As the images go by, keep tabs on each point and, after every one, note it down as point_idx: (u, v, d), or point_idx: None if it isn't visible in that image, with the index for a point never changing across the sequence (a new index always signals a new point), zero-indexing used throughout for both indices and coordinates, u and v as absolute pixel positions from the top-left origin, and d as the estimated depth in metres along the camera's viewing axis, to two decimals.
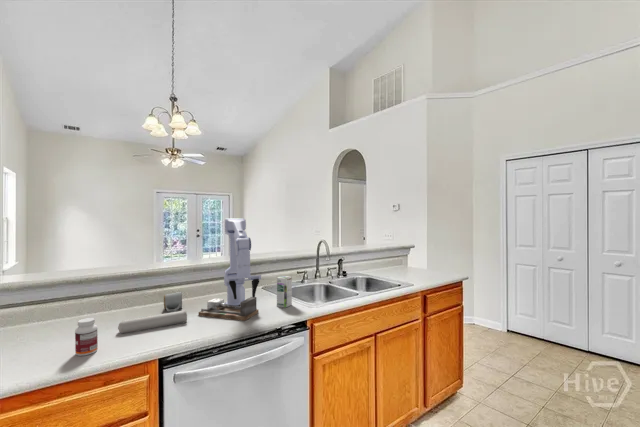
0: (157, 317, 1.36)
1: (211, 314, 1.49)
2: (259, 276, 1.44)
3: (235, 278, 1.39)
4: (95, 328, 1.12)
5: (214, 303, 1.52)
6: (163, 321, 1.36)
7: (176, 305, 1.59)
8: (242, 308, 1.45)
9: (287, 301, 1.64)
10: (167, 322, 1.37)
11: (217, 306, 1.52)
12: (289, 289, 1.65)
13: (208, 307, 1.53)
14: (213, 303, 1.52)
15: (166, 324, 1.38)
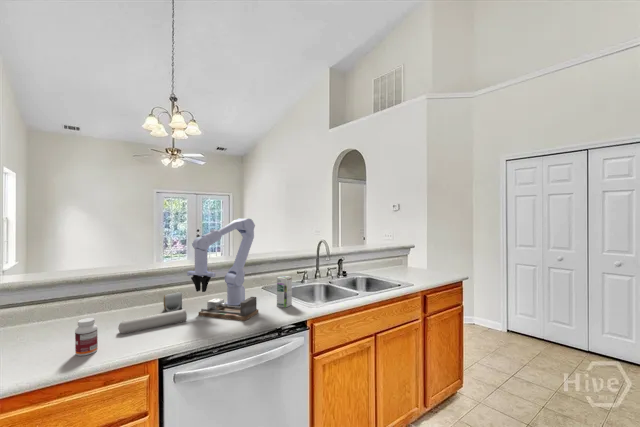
0: (157, 316, 1.37)
1: (211, 314, 1.49)
2: (211, 274, 1.54)
3: (191, 273, 1.57)
4: (95, 328, 1.12)
5: (214, 303, 1.52)
6: (163, 320, 1.37)
7: (176, 305, 1.59)
8: (242, 308, 1.45)
9: (287, 301, 1.64)
10: (167, 322, 1.38)
11: (217, 306, 1.52)
12: (289, 289, 1.65)
13: (208, 307, 1.53)
14: (213, 303, 1.52)
15: (166, 324, 1.39)
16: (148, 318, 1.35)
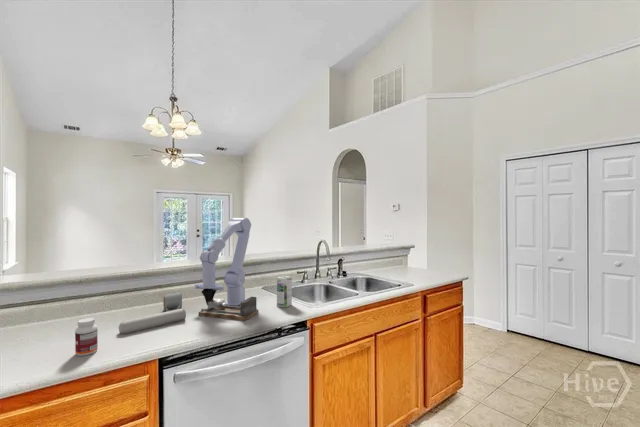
0: (157, 316, 1.37)
1: (211, 314, 1.49)
2: (219, 287, 1.53)
3: (199, 286, 1.56)
4: (95, 328, 1.12)
5: (214, 303, 1.52)
6: (163, 319, 1.38)
7: (176, 306, 1.58)
8: (242, 308, 1.45)
9: (287, 301, 1.64)
10: (167, 321, 1.39)
11: (217, 306, 1.52)
12: (289, 289, 1.65)
13: (208, 307, 1.53)
14: (213, 303, 1.52)
15: (166, 323, 1.40)
16: (148, 318, 1.35)
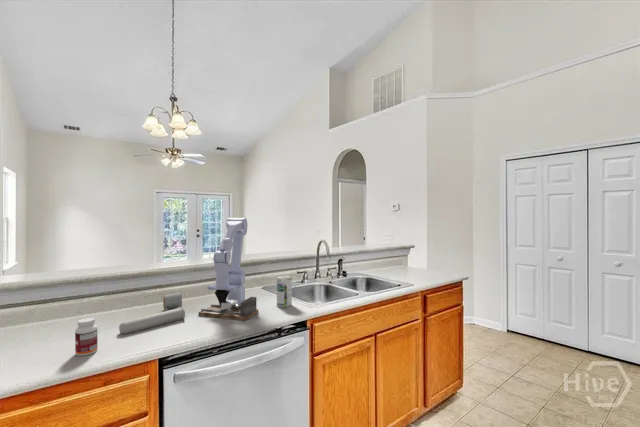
0: (157, 316, 1.38)
1: (211, 314, 1.49)
2: (233, 289, 1.51)
3: (212, 287, 1.53)
4: (95, 328, 1.12)
5: (228, 304, 1.50)
6: (163, 319, 1.39)
7: (176, 306, 1.58)
8: (242, 308, 1.45)
9: (287, 301, 1.64)
10: (167, 320, 1.40)
11: (231, 308, 1.50)
12: (289, 289, 1.65)
13: (222, 308, 1.51)
14: (227, 304, 1.50)
15: (166, 322, 1.40)
16: (148, 317, 1.35)
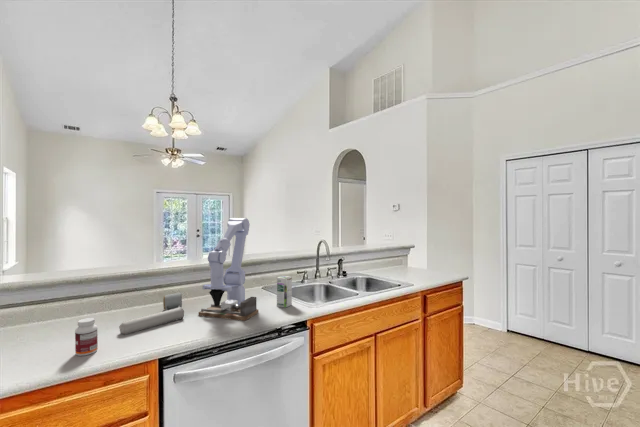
0: (157, 315, 1.38)
1: (211, 314, 1.49)
2: (228, 288, 1.52)
3: (207, 287, 1.54)
4: (95, 328, 1.12)
5: (228, 304, 1.50)
6: (163, 318, 1.39)
7: (176, 306, 1.58)
8: (242, 308, 1.45)
9: (287, 301, 1.64)
10: (166, 320, 1.40)
11: (231, 308, 1.50)
12: (289, 289, 1.65)
13: (222, 308, 1.51)
14: (227, 304, 1.50)
15: (165, 322, 1.41)
16: (148, 317, 1.35)
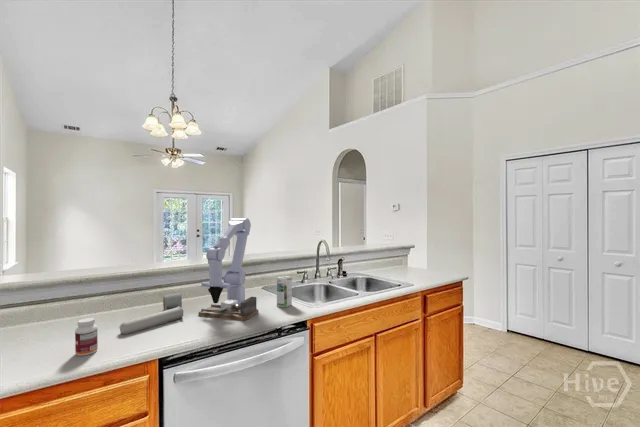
0: (157, 315, 1.38)
1: (211, 314, 1.49)
2: (226, 285, 1.52)
3: (206, 284, 1.54)
4: (95, 328, 1.12)
5: (228, 304, 1.50)
6: (163, 318, 1.40)
7: (176, 306, 1.58)
8: (242, 308, 1.45)
9: (287, 301, 1.64)
10: (166, 319, 1.41)
11: (231, 308, 1.50)
12: (289, 289, 1.65)
13: (222, 308, 1.51)
14: (227, 304, 1.50)
15: (165, 322, 1.41)
16: (148, 317, 1.36)
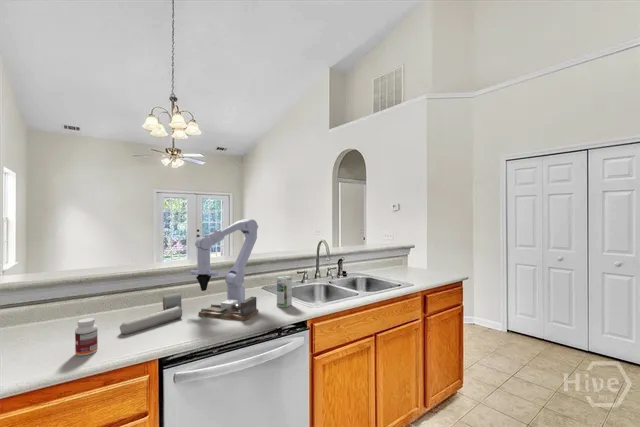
0: (156, 315, 1.39)
1: (211, 314, 1.49)
2: (214, 273, 1.56)
3: (194, 272, 1.59)
4: (95, 328, 1.12)
5: (228, 304, 1.50)
6: (162, 318, 1.40)
7: (175, 306, 1.57)
8: (242, 308, 1.45)
9: (287, 301, 1.64)
10: (166, 319, 1.41)
11: (231, 308, 1.50)
12: (289, 289, 1.65)
13: (222, 308, 1.51)
14: (227, 304, 1.50)
15: (165, 321, 1.41)
16: (148, 317, 1.36)
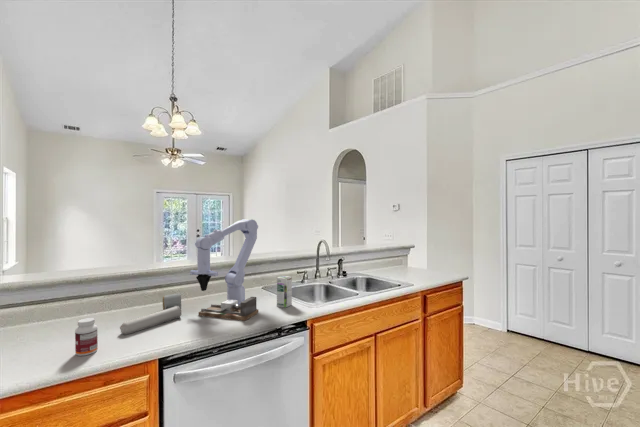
0: (156, 315, 1.39)
1: (211, 314, 1.49)
2: (214, 273, 1.56)
3: (194, 272, 1.59)
4: (95, 328, 1.12)
5: (228, 304, 1.50)
6: (162, 318, 1.40)
7: None
8: (242, 308, 1.45)
9: (287, 301, 1.64)
10: (165, 319, 1.42)
11: (231, 308, 1.50)
12: (289, 289, 1.65)
13: (222, 308, 1.51)
14: (227, 304, 1.50)
15: (164, 321, 1.42)
16: (148, 317, 1.36)
